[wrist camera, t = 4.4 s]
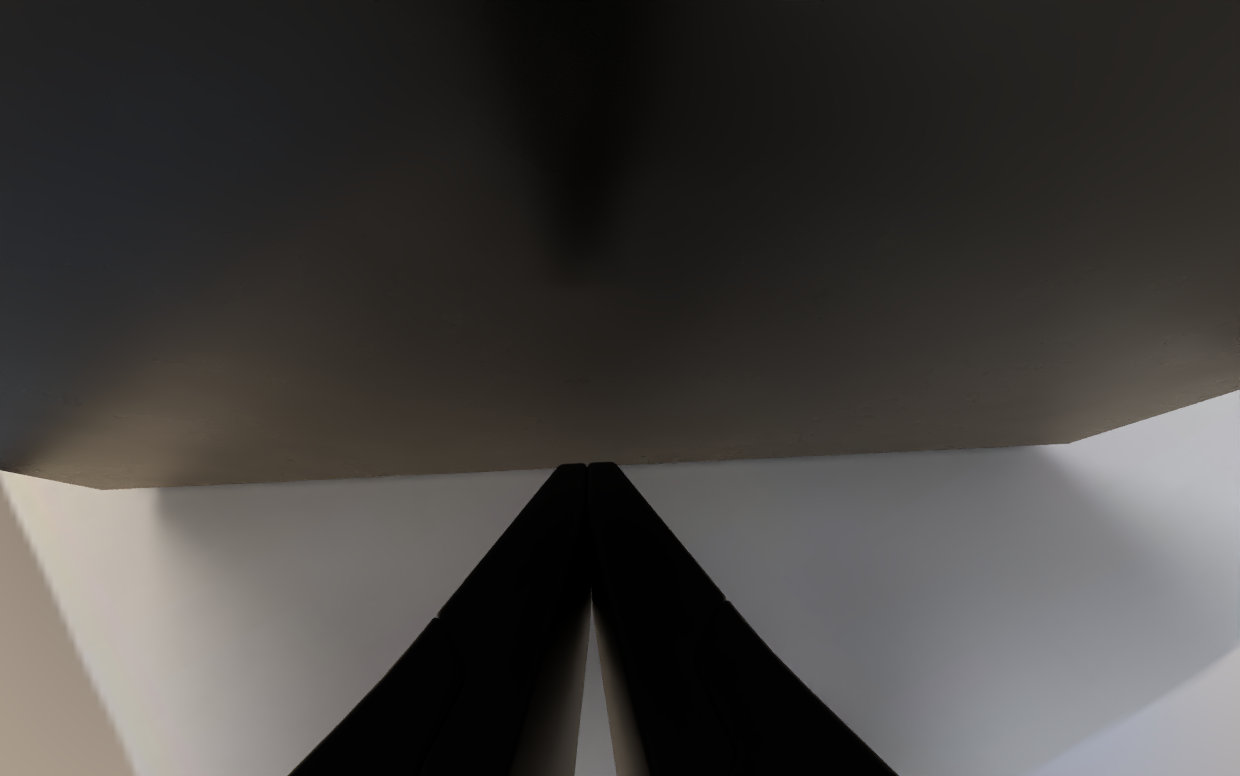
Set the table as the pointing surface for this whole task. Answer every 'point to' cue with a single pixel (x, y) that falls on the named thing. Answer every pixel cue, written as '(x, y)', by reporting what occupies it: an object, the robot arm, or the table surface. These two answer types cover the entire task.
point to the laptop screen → (604, 230)
